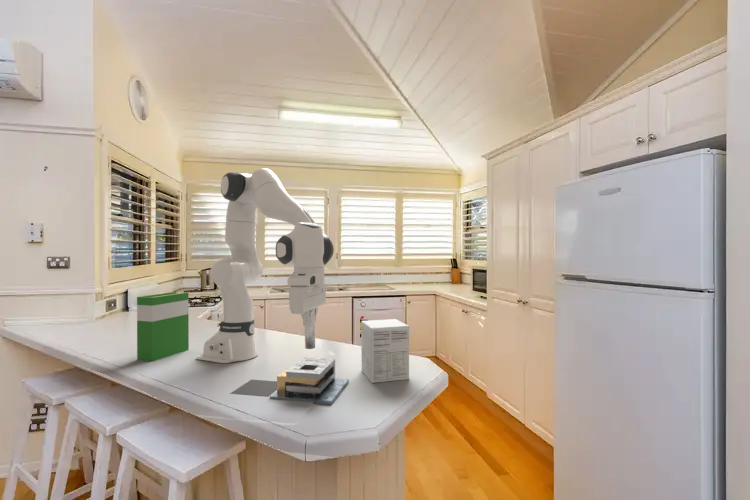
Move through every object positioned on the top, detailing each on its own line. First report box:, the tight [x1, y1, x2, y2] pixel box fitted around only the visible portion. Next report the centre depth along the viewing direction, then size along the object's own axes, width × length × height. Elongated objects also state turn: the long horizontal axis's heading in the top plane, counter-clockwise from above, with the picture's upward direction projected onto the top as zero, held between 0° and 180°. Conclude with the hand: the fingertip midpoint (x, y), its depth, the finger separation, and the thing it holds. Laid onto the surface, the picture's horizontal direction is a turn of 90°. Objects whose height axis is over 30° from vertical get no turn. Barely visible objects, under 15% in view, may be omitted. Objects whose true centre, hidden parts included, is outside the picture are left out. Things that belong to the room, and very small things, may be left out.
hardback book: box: [136, 291, 190, 363], centre depth 152 cm, size 18×7×24 cm, turn 162°
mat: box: [229, 379, 277, 398], centre depth 115 cm, size 12×12×1 cm
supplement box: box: [360, 318, 410, 384], centre depth 128 cm, size 13×13×18 cm
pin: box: [304, 308, 316, 350], centre depth 112 cm, size 3×3×14 cm
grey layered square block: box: [269, 356, 350, 406], centre depth 114 cm, size 18×18×8 cm
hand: (309, 324), depth 112 cm, fingers closed on pin, 3 cm apart
